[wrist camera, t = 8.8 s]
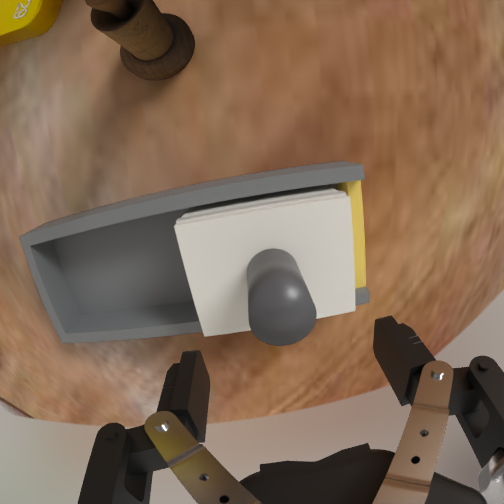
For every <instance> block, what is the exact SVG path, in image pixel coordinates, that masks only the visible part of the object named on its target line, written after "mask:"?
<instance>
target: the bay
mask: <svg viewBox="0 0 504 504" xmlns="http://www.w3.org/2000/svg"><path fill="white" fill-rule="evenodd" d="M360 180H365V177H364V167H363V165H362V164H357V163H352V162H346V161H339V162H330V163H322V164H314V165H306V166H299V167H292V168H285V169H278V170H272V171H265V172H259V173H253V174H247V175H241V176H236V177H230V178H225V179H219V180H214V181H209V182H204V183H199V184H194V185H189V186H185V187H180V188H175V189H171V190H166V191H162V192H158V193H153V194H149V195H145V196H141V197H137V198H133V199H129V200H125V201H121V202H117V203H113V204H109V205H105V206H102V207H98V208H94V209H91V210H87V211H84V212H80V213H77V214H73V215H70V216H67V217H63V218H60V219H57V220H54V221H50V222H47V223H44V224H42V225H40V226H38V227H37V228H35V229H33V230H31V231H29V232H27V233H25V234H23V235H21V236H19V238H20V242H21V245H22V248H23V251H24V254H25V257H26V260H27V263H28V266H29V268H30V271H31V274H32V276H33V279H34V282H35V284H36V287H37V289H38V292H39V294H40V297H41V299H42V301H43V304H44V306H45V308H46V310H47V313H48V315H49V317H50V319H51V321H52V324H53V326H54V328H55V330H56V332H57V334H58V336H59V338H60V340H61V342H62V343H82V342H100V341H115V340H129V339H141V338H152V337H162V336H171V335H181V334H189V333H198V332H203V331H202V327H201V324H200V321H199V317H198V314H197V310H196V307H195V304H194V300H193V297H192V293H191V290H190V286H189V282H188V279H187V275H186V271H185V268H184V264H183V260H182V256H181V252H180V248H179V244H178V241H177V236H176V232H175V228H174V226H175V225H176V220H177V219H178V218H181V217H182V216H183V215H184V214H185V212H186V211H187V210H188V209H189V207H194V206H199V205H205V204H210V203H215V202H220V201H226V200H231V199H237V198H243V197H248V196H254V195H260V194H266V193H273V192H279V191H285V190H292V189H298V188H305V187H312V186H319V185H328V186H330V187H332V188H334V189H336V190H338V191H344V192H346V195H347V196H349V197H350V202H351V214H352V228H353V244H354V266H355V306H356V305H361V304H365V303H369V297H370V291H369V290H368V289H367V287H366V266H365V237H364V218H363V204H362V192H361V181H360Z"/></svg>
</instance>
